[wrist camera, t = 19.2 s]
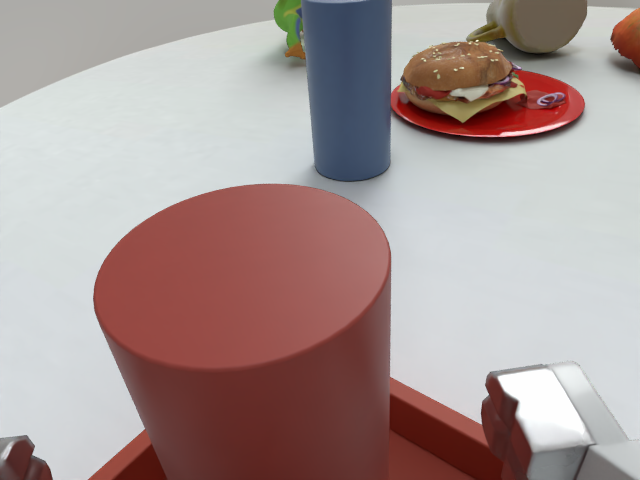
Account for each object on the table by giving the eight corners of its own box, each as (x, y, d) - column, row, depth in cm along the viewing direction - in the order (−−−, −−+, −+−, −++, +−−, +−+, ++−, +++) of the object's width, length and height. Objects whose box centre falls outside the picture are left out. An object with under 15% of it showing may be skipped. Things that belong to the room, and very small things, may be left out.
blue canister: (362, 188, 31) (357, 5, 25) (299, 169, 33) (281, -2, 27) (404, 156, 34) (408, -15, 28) (343, 140, 36) (335, -19, 30)
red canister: (217, 676, 12) (67, 407, 6) (208, 483, 16) (109, 206, 10) (414, 617, 13) (439, 325, 7) (359, 447, 17) (347, 166, 11)
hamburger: (485, 162, 32) (498, 64, 29) (353, 100, 42) (351, 21, 39) (625, 104, 38) (650, 15, 34) (480, 61, 48) (487, -11, 44)
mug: (521, 28, 56) (582, -62, 48) (543, 96, 51) (615, 10, 43) (457, 16, 54) (507, -79, 46) (474, 86, 50) (533, -5, 41)
